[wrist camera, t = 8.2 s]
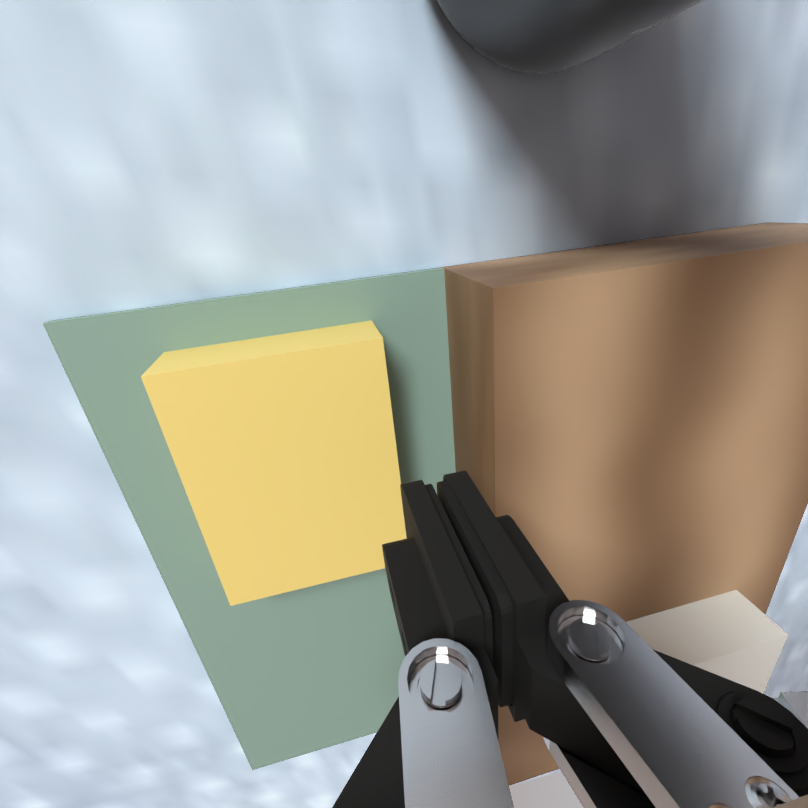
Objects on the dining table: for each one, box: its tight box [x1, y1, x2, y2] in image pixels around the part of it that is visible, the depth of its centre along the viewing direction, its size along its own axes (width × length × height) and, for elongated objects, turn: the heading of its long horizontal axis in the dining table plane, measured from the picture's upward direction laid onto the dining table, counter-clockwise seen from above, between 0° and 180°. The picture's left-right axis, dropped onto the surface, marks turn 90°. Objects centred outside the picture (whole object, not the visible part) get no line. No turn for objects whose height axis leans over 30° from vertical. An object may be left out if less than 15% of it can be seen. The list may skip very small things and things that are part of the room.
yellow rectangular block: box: [141, 320, 407, 606], centre depth 13 cm, size 6×8×2 cm
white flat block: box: [626, 590, 788, 694], centre depth 17 cm, size 6×8×2 cm
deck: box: [442, 223, 808, 785], centre depth 17 cm, size 12×22×4 cm, turn 6°
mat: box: [43, 267, 456, 770], centre depth 17 cm, size 12×22×1 cm, turn 6°
